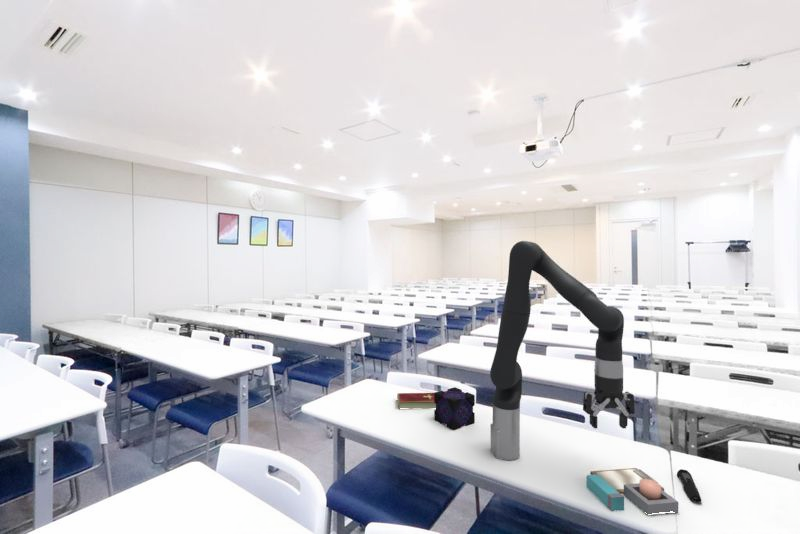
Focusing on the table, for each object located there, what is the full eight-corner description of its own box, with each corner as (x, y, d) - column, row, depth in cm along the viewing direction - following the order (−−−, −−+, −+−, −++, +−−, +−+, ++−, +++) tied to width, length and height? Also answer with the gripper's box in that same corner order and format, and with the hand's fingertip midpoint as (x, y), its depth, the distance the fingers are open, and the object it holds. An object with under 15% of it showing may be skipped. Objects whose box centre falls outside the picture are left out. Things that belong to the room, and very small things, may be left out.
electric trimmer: (687, 504, 105) (688, 493, 104) (675, 475, 118) (676, 465, 118) (704, 508, 103) (704, 496, 103) (690, 478, 117) (690, 468, 117)
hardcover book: (397, 401, 182) (397, 392, 182) (439, 400, 183) (439, 391, 183) (398, 410, 170) (398, 401, 170) (444, 409, 171) (444, 400, 171)
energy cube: (474, 423, 156) (474, 395, 156) (453, 430, 149) (453, 401, 149) (454, 413, 166) (454, 387, 166) (434, 420, 159) (434, 392, 159)
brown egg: (649, 501, 101) (649, 490, 101) (635, 489, 106) (635, 479, 106) (665, 499, 102) (665, 488, 102) (651, 488, 107) (651, 478, 107)
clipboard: (614, 494, 108) (614, 490, 108) (590, 473, 119) (590, 469, 119) (664, 490, 110) (664, 485, 110) (636, 469, 121) (636, 465, 121)
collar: (648, 515, 99) (648, 504, 99) (623, 494, 108) (623, 484, 108) (678, 512, 100) (678, 501, 100) (651, 492, 109) (651, 482, 109)
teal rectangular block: (624, 510, 101) (624, 496, 101) (611, 511, 101) (611, 497, 101) (594, 483, 114) (594, 471, 114) (583, 483, 113) (583, 471, 113)
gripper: (591, 377, 107) (591, 433, 108) (640, 377, 107) (640, 433, 108) (578, 370, 115) (578, 422, 115) (624, 369, 115) (624, 422, 115)
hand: (608, 427), depth 111 cm, fingers open, 8 cm apart
